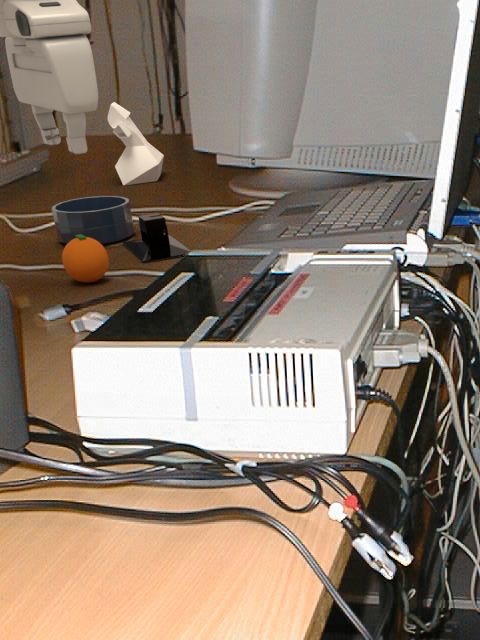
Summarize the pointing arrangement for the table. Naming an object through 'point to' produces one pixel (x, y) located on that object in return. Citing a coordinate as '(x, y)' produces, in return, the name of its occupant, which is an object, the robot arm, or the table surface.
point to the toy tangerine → (85, 259)
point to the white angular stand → (134, 150)
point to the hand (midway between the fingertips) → (65, 148)
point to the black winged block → (155, 241)
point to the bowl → (94, 219)
